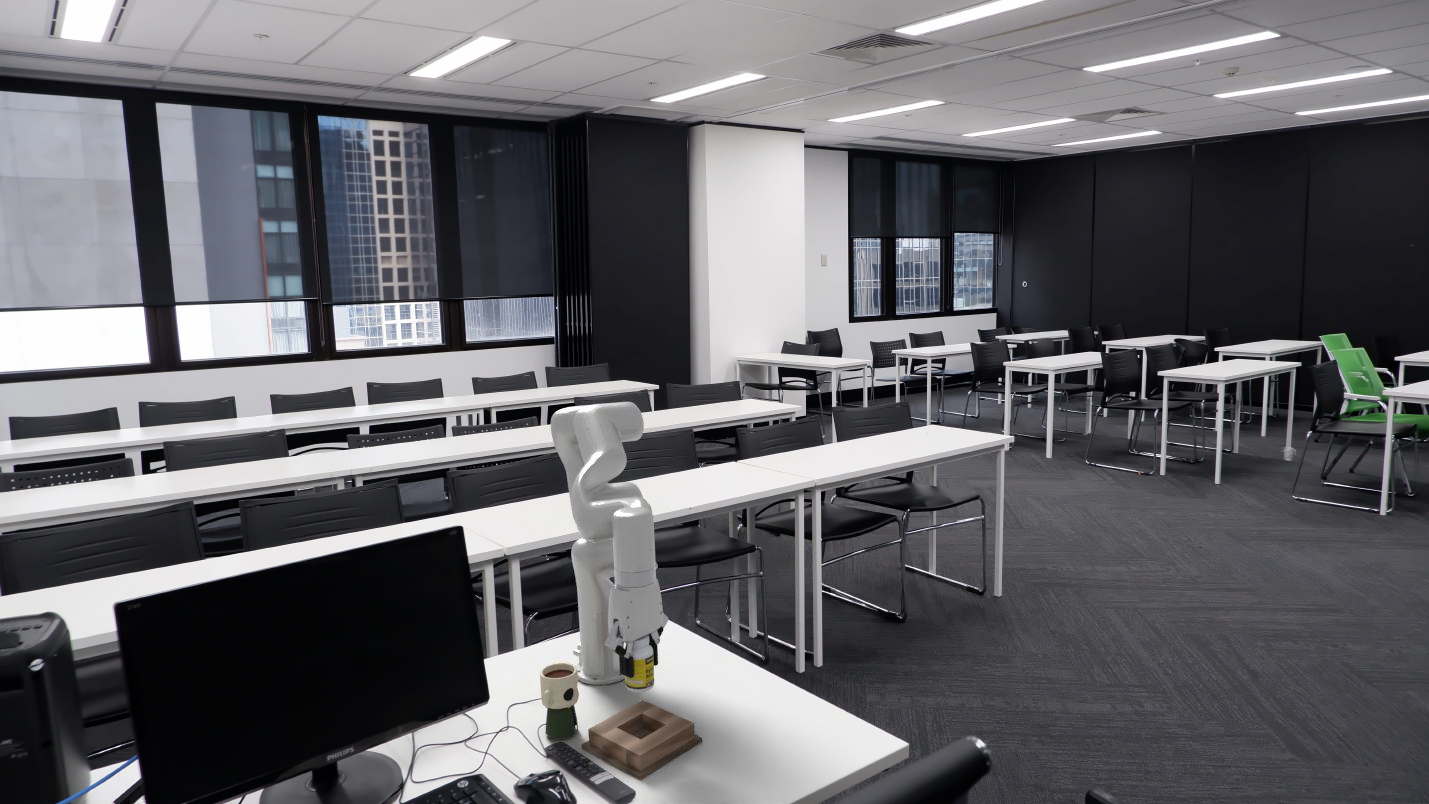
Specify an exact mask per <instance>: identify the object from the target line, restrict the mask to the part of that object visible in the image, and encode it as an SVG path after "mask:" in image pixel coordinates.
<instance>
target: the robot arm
mask: <svg viewBox="0 0 1429 804" xmlns="http://www.w3.org/2000/svg"><path fill="white" fill-rule="evenodd" d="M644 423H645V422H644V417H643V415H642V411H641V410H640V409H639V407H638V405H636V404H635V403H634V402H631V401H621V402H620V401H619V402H609V403H608V402H607V403H593V404H586V405H576V406H568V407H564V408H561V409H558V410H557V411H555V412H554V413H553V414H552V416H551V419H550V434H551V437H552V443H553V445H554V448H555V450H556V452H557V455H558V456H559V458H560V460H561V462H562V464H563V466H564V470H565V473H566V479H567V488H568V493H569V500H570V507H571V508H570V509H571V513H572V518H573V521H574V523H575V525H576V527H577V530H578V534H579V535H580V538H578V539H577V540H576V541H574V542H573V544H572V547H571V552H570V553H571V562H572V567H573V570H574V576H575V583H576V588H577V589H576V591H577V603H578V605H577V608H578V623H579V638H580V639H579V640H580V642H579V643H578V645H577V646H576V647H577V648H574V650H573V651H572V654H573V655H574V656H576V657H578V663H577V664H576V665H575V666H576V668H577V673H578V681H580V682H582V683H585V684H587V685H594V686H595V685H596V686H603V685H612V684H616V683H619V682H620V681H622V680H625V676H627V677H629V678H632V677H634V661H633V657H632V656H630V655H631V650H632V645H633V641H634V640H636V639H639V638H641V637H643V636H645V635H647V634H648V635H649V645H650V646H651V647H652V648H653V658H654V667H656V666H658V665H659V651H658V649H659V648H658V645H659V644H660V642H661V636H662V635H663V632H664V628H665V627H666V625H667V624H668V622H669V617H668V616H667V615H666V614H665V613H664V612H663V611H664V610H663V609H664V608H663V600H662V593H661V588H660V583H659V580H658V578H657V574H656V573H657V572H656V570H657V569H658V566H659V565H658V563H657V562H656V546H655V524H654V523H655V521H654V515H653V510H652V506H651V504H649V502H648V501H647V500H646V499H645V498H644V496H643V494H642V491H641V489H640V488H639V486H638V485H637V484H635V483H633V482H631V481H630V482H629V481H623V482H613V483H609V482H610V481H612V480H613V479H615V478H617V477H618V476H619V475H620V474H622V472H623V471H624V469H625V468H626V466H627V461H628V460H627V459H628V458H627V454H626V452H625V449H624V446H623V443H625V442H635V441H638V440H640V439H641V438H642V436H643V434H644V429H645V428H644V426H645V425H644ZM610 578H614V582H612V581H611V580H610Z"/></svg>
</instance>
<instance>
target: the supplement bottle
mask: <svg viewBox="0 0 1429 804" xmlns="http://www.w3.org/2000/svg"><path fill="white" fill-rule="evenodd" d="M630 656H632V657H633V661H634V677H632V678H629V677H627V676H625V679H624V685H625V688H626V689H627V691H629V692H632V693H645V692H647V691H650V690H651V689H653V688H654V687H655V669H654V668H655V666H654V658H653V648H652V647H651V646H650V645H649V635H648V634H647V635H645V636H643V637H641V638H639V639H636V640H634V641H633V645H632V650H631V655H630Z"/></svg>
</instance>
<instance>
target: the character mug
mask: <svg viewBox="0 0 1429 804" xmlns="http://www.w3.org/2000/svg"><path fill="white" fill-rule="evenodd" d="M576 666H577V665H574V664H573V663H570V662H569V663H568V662H556V663H551V664H548V665H545V666H544V667H542V668H541V669H540V672H539V683H540V697H541V702H542V703H541V704H542V706H544V707H545V708H546V709H547V710H546V718H545V719H546V720H545V734H546V735H547V736H548V737H550V738H554V739H558V740H565V739H570V738H572V737H574V736H575V735H576V731H577V732H579V725H578V718H577V713H576V707H575V705H576V704H577V703H578V701H579V697H580V692H579V689H578V682H579V680H578V673H577V668H576Z"/></svg>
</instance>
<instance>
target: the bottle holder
mask: <svg viewBox="0 0 1429 804" xmlns="http://www.w3.org/2000/svg"><path fill="white" fill-rule="evenodd" d="M587 731H588V740H586V741H585V742H582V744H581V749H582V750H584V751H585V752H588V753H589V754H592V755H593V756H595V757H596V758H599V760H602V761H604V762H605V763H607V764H610V765H612V766H614V767H615V768H617V769H619V770H620V771H623V772H625V773H626V774H628V775H630V776H632V777H634V778H635V779H638V780H640V781H643V779H645V778H647V777H648V776H650V775H652V774H654V773H655V772H656V771H658V770H660V769H661V768H663V767H664V766H666V765H667V764H669V763H670V762H673V760H676V759H677V758H679V757H680V756H682V755H683V754H685V753H686V752H689V750H691V749H692V748H695V747H697V745H699V744H701V743H702V742H703V737H702V736H699V735H697V734H695V733H696V732H695V722H692V721H691V720H688V719H686V718H684V717H681V716H679V715H677V714H675V713H673V712H671V711H669V710H666V709H663V708H661V707H659V706H657V705H655V704H653V703H650V702H648V701H646V700H644V699H642V700H640V701H638V702H636V703H634V704H632V705H630V706H628V707H627V708H625V709H623V710H621V711H619V712H617V713H616V714H614V715H612V716H610V717H607V718H606V719H604V720H603V721H601V722H598V723H597V724H595V725H593V726H591V727H589V728H588V729H587Z"/></svg>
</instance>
